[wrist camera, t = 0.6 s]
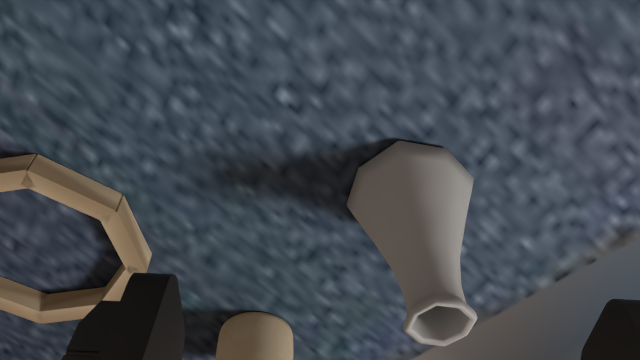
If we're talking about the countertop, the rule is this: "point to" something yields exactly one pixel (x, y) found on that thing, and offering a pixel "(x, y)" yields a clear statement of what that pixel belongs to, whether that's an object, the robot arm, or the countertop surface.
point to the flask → (419, 233)
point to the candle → (255, 338)
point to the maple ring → (90, 201)
